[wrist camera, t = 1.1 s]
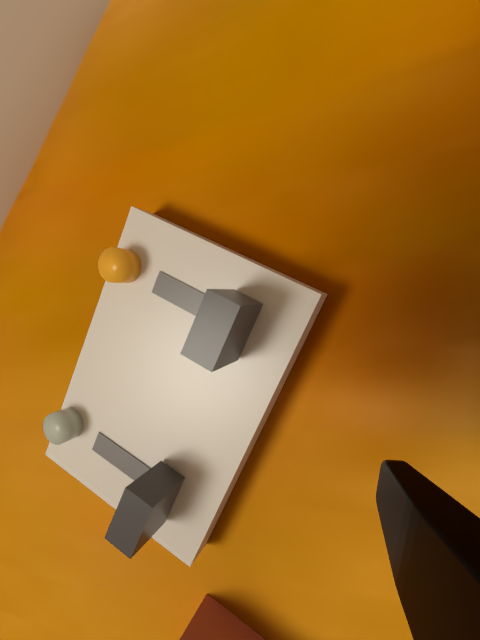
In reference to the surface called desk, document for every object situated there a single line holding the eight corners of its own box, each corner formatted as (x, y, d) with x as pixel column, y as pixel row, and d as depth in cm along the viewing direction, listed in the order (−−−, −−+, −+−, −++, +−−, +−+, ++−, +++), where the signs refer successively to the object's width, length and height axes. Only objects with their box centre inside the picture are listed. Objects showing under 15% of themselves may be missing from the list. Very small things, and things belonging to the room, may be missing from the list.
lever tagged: (263, 303, 18) (240, 305, 15) (238, 360, 18) (211, 372, 16) (234, 289, 18) (207, 288, 15) (210, 344, 19) (180, 353, 16)
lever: (185, 477, 20) (152, 507, 17) (165, 522, 20) (130, 559, 18) (161, 460, 20) (125, 487, 18) (141, 505, 21) (104, 537, 18)
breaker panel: (327, 294, 19) (316, 294, 16) (206, 544, 22) (178, 582, 19) (153, 213, 22) (116, 201, 19) (70, 442, 25) (28, 462, 22)
